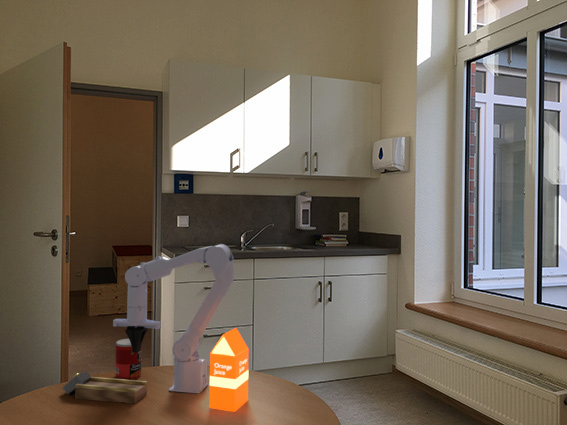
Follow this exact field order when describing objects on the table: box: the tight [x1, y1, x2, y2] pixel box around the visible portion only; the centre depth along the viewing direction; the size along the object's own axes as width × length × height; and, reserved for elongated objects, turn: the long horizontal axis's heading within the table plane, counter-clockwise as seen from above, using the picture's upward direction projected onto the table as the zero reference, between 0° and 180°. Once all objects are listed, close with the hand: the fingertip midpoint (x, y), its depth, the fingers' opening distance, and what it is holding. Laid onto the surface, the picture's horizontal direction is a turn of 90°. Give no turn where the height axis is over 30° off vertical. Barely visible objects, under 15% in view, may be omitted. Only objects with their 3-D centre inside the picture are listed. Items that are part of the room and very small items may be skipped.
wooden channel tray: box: [74, 376, 148, 405], centre depth 139 cm, size 18×7×4 cm, turn 79°
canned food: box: [115, 338, 143, 380], centre depth 157 cm, size 8×8×11 cm
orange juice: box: [209, 327, 250, 413], centre depth 135 cm, size 8×9×20 cm
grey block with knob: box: [62, 370, 92, 395], centre depth 142 cm, size 6×4×3 cm
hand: (136, 351), depth 147 cm, fingers closed
